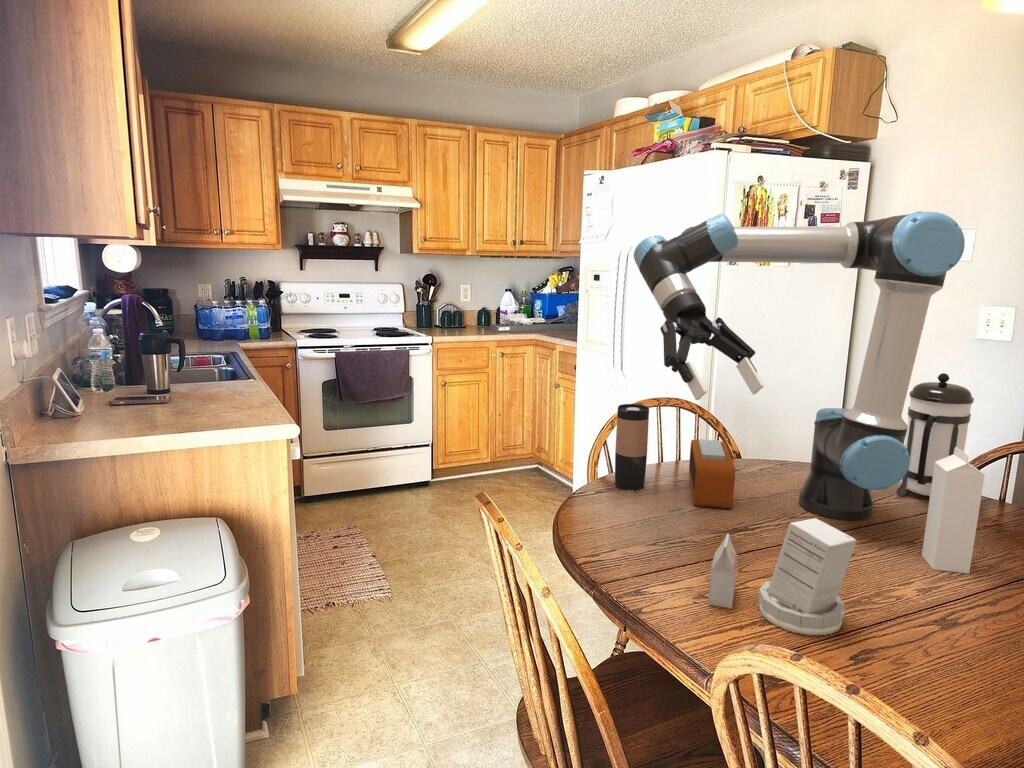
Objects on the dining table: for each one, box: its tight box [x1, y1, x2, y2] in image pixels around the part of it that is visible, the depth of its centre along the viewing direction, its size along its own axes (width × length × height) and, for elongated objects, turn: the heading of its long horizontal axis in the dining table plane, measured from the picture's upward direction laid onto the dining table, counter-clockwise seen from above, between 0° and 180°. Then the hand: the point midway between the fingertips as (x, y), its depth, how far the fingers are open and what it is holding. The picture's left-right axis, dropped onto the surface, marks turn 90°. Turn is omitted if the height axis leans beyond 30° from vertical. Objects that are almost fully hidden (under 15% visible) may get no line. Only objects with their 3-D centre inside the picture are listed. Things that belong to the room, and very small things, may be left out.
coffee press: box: [895, 372, 975, 497], centre depth 156 cm, size 17×16×30 cm
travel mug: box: [614, 403, 650, 492], centre depth 161 cm, size 8×8×20 cm
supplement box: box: [768, 517, 857, 614], centre depth 103 cm, size 7×7×13 cm
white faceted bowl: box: [758, 580, 846, 637], centre depth 104 cm, size 12×12×3 cm
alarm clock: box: [688, 439, 736, 510], centre depth 159 cm, size 24×8×11 cm, turn 168°
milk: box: [921, 447, 985, 574], centre depth 121 cm, size 6×6×22 cm
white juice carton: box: [707, 533, 738, 609], centre depth 109 cm, size 4×7×10 cm, turn 158°
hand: (730, 393), depth 118 cm, fingers open, 13 cm apart
